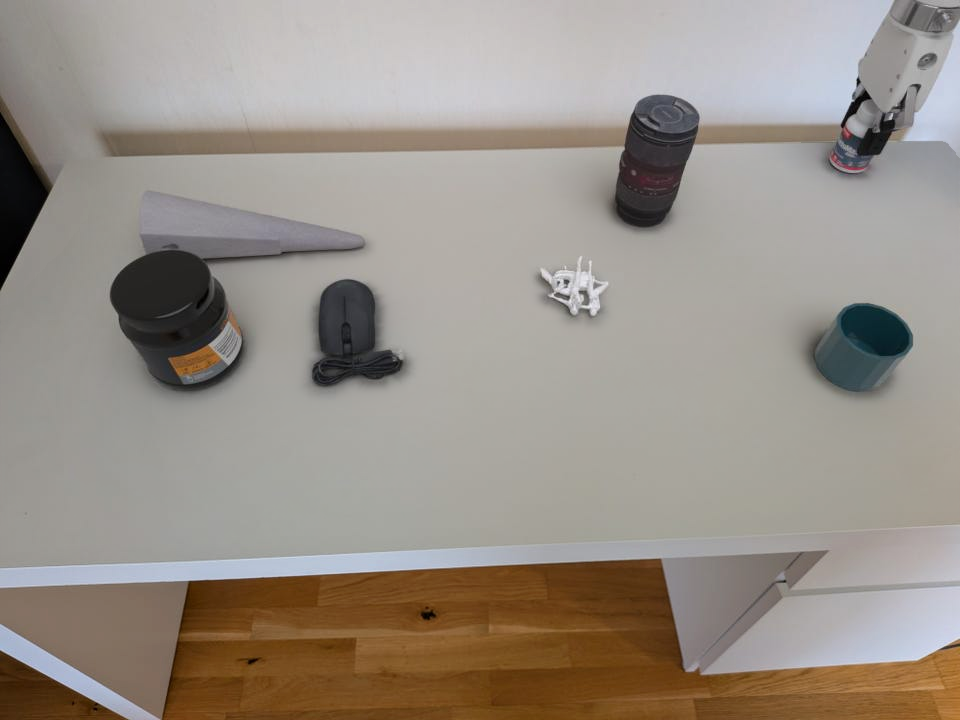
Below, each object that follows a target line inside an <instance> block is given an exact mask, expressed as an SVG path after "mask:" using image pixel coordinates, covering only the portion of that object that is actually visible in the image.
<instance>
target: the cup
mask: <svg viewBox="0 0 960 720" xmlns="http://www.w3.org/2000/svg"><path fill="white" fill-rule="evenodd" d="M913 347H914V334H913V332H912V330H911V329H910V326H909V324H908V323H907V322H906V321H905V320H904V319H903V318H902V317H901V316H899V315H898V314H897V313H896V312H894V311H892V310H890V309H888V308H886V307H884V306H881V305H878V304H875V303H871V302H855V303H852V304H848V305H846V306H844V307H843V308H842V309H841V310H840V311H839V312H838V314H837V315H836V316H835V318H834V319H833V321H832V323H831V324H830V326H829V327H828V328H827V330H826V332H825V333H824V335H823V336H822V338H821V339H820V341H819V342H818V344H817V346H816V348H815V350H814V361H815V365H816V368H817V369H818V370H819V372H820V373H821V374H822V376H824V377H825V378H826V379H827V380H828V381H830V382H831V384H834V385H836V386H837V387H840V388H842V389H844V390H847V391H851V392H862V393H863V392H870V391H873V390H875V389H877V388H879V387H880V386H881V385H882V384H883V383H885V381H886V380H887V379H888V377H889V376H890V375H891V374H892V373H893V372H894V370H895V369H896V368H897V367H898V366H899V365H900V363H902V361H903V360H904V358H906V356H907V355H908V354H909V352H910V351H911V350H912V348H913Z"/></svg>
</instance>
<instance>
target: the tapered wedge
mask: <svg viewBox="0 0 960 720" xmlns="http://www.w3.org/2000/svg"><path fill="white" fill-rule="evenodd" d="M139 222H140V223H139V225H140V229H139V231H140V232H139V237H140V239H141V242H142V246H143V248H144V251H145V255H147V254H150V253H153V252H157V251H163V250H182V251H187V252H190V253H193V254H195V255H197V256H199V257H200V258H201V259H203V260H204V259H217V258H218V259H219V258H220V259H221V258H236V257H237V258H238V257H253V256H255V257H256V256H269V255H270V256H273V255H282V253H283V252H284V253H285V252H286V253H287V252H306V251H327V250H328V251H329V250H352V249H358V248H362V247H363V246H364V245H365V239H364V237H363V236H361V235H360V234H357V233H353V232H348V231H344V230H340V229H336V228H332V227H327V226H322V225H317V224H313V223H308V222H304V221H298V220H293V219H288V218H283V217H279V216H274V215H269V214H265V213H259V212H254V211H249V210H245V209H240V208H236V207H231V206H226V205H221V204H218V203H217V204H216V203H213V202H212V203H211V202H206V201H202V200H196V199H192V198H187V197H183V196H178V195H174V194H170V193H164V192H160V191H155V190H154V191H153V190H150V189H146V190H145V191H144V192H143V194H142V196H141V200H140V207H139Z"/></svg>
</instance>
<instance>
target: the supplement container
mask: <svg viewBox="0 0 960 720" xmlns="http://www.w3.org/2000/svg"><path fill="white" fill-rule="evenodd" d="M109 300H110V303H111V306H112V307H113V309H114V311H115V313H116V314H117V316H118V317H117V318H118V325H119V327H120V331H122V333H123V335H124V336H125V337H126V339H128V341H130V343H131V344H132V346H133V348H134V349H135V351H136V352H137V353H138V355H139V357H140V358H141V360H142V361H143V363H144V365H145V367H146V368H147V370H148V372H149V374H150V375H151V376H152V378H154V379H155V381H157V382H159V384H161V385H163V386H165V387H167V388H170V389H174V390H177V391H194V390H200V389H204V388H207V387H211V386H212V385H214V384H215V385H216V384H217V383H218V382H221V381H222V380H224V379H225V378H226V377H228V376H229V375H230V374H231V373H232V372H233V371H234V370H235V369H236V367H237V366H238V364H239V362H240V361H241V359H242V357H243V354H244V350H245V337H244V334H243V331H242V329H241V327H240V326H239V324H238V322H237V319H236V316H235V315H234V312H233V310H232V307H231V306H230V303H229V301H228V299H227V293H226V291H225V289H224V286H223V285H222V283H221V282H220V281H219V280H218V279H217V278H216V277H215V276H213V273H212V272H211V269H210V268H209V266H208V264H207V262H206V261H205V260H204V258H203V259H201V258H200V257H199V256H197V255H195V254H193V253H190V252H187V251H182V250H163V251H157V252H153V253H150V254H144V255H142V256H139V257H138V258H136V259H134V260H132V261H131V262H129V263H128V264H126V265H125V266H124V267H123V268H122V269H121V270H120V271H119V272H118V273H117V275H116V276H115V278H114V279H113V281H112V283H111V286H110V289H109Z"/></svg>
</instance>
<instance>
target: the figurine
mask: <svg viewBox="0 0 960 720" xmlns="http://www.w3.org/2000/svg"><path fill="white" fill-rule="evenodd" d="M582 260H583V256H582V255H580V256H578V260H577V261H576V268H575V271H574V270H568V269H567V267H566V265H563V267H564V269H563V270H561V269H560V270H557V271H556V272H555V273H554V275H552V274H550V273H549V272H548V270H546V268H544V267H540V268H539V271H540V272H541V277H542V278H543V279H544V280H545V281H547V282H548V283H549V284H550V286H551V289H552V290H553V292H551V293H548V294H547V296H548V297H549V298H551V299H555V300H556V301H557V302H560V303H562V304H563V305H565V306H566V307H568V310H569V312H570V315H571V316H577V315H578V314H579V313H580V310H581V309H585V310H588V311H589V314H590V316H592V317H594V316H597V313H598V312H599V311H600V310H601V304H600V303H601V302H600V296H599V295H602V293H603V292H604V291H605V290H606V289H607V288H608V286H610V285H609V284H610V282H609V281H603V280H599V279H598V280H597V279H596V278H595V275H593V274H592V263H593V260H592V259H591V260H589V261H588V271H584V270H583V271H582ZM565 281H569V282H568V283H567V284H565ZM558 282H559V283H558ZM595 283H596V284H598V285H600V286H597V287H596V288H594V285H595ZM566 286H567V287H566ZM580 292H586V293H587V296H588V298H589V302H588V304H587V305H583V304H582V303H583V302H584V300H585V298H584V295H583V294H580ZM557 293H558V294H561V295H563V296H567V297H569V299H568V300H567V299H563V298H560V297H557V296H555V295H556V294H557Z"/></svg>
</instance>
